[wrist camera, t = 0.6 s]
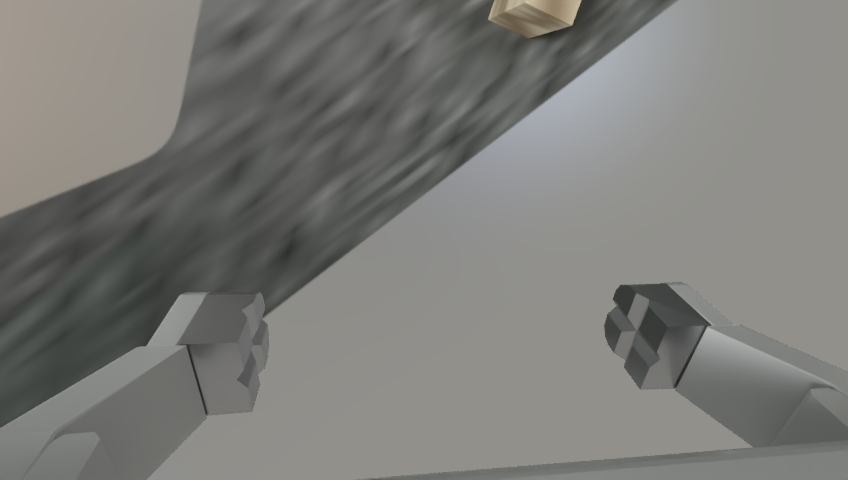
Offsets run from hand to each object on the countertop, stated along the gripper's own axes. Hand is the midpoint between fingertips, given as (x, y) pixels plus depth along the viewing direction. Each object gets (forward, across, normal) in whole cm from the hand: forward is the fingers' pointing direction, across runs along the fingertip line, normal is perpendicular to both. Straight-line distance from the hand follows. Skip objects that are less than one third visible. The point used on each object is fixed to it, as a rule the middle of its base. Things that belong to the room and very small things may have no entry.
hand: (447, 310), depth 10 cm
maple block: (+41, -14, -7) cm, 43 cm away
